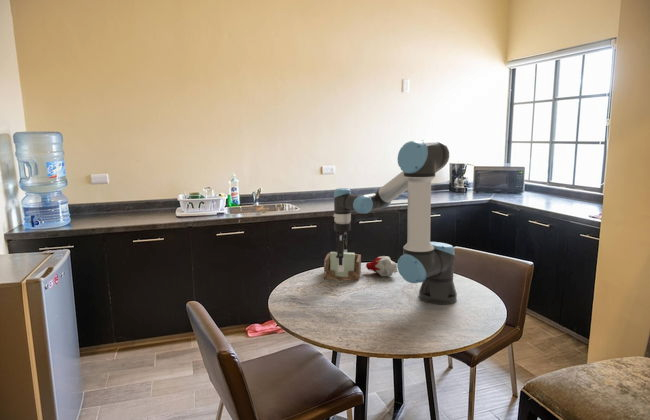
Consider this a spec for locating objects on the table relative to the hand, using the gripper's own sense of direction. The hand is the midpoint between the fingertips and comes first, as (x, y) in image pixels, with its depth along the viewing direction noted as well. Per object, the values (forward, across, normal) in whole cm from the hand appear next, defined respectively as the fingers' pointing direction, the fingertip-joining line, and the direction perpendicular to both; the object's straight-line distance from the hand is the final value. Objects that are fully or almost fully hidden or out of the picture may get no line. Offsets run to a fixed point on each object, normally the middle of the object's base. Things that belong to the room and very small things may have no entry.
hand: (342, 267), depth 207 cm
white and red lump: (+6, -9, +18) cm, 20 cm away
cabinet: (+5, -4, 0) cm, 6 cm away
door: (+4, 0, 0) cm, 4 cm away
